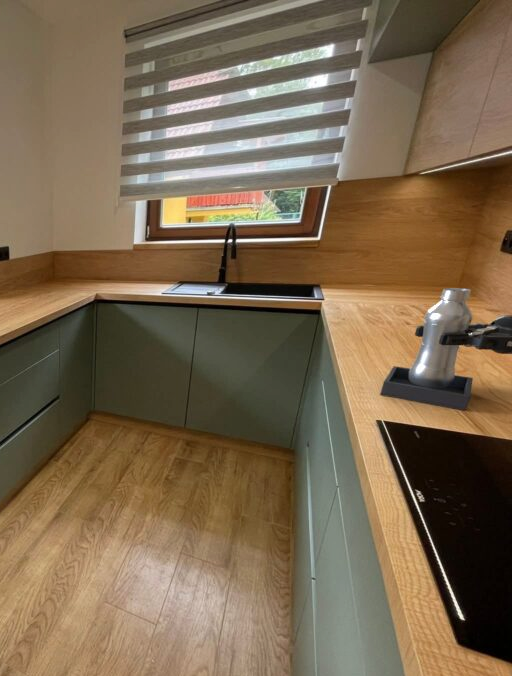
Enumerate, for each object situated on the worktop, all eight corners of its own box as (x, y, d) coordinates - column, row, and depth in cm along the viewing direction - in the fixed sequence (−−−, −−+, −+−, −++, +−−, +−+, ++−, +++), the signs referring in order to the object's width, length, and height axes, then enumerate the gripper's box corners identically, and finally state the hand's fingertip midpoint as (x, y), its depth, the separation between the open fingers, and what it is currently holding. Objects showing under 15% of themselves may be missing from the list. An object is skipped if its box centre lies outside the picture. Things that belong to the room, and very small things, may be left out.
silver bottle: (453, 394, 84) (487, 292, 77) (407, 388, 88) (436, 291, 81) (446, 384, 89) (477, 287, 82) (403, 379, 93) (429, 286, 86)
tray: (465, 410, 81) (470, 396, 80) (380, 394, 89) (383, 381, 88) (467, 391, 89) (472, 377, 88) (389, 378, 98) (393, 365, 97)
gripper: (561, 364, 77) (450, 364, 80) (492, 343, 90) (399, 343, 93) (578, 323, 74) (463, 324, 78) (504, 308, 87) (409, 309, 91)
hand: (428, 335), depth 85 cm, fingers closed on silver bottle, 6 cm apart
